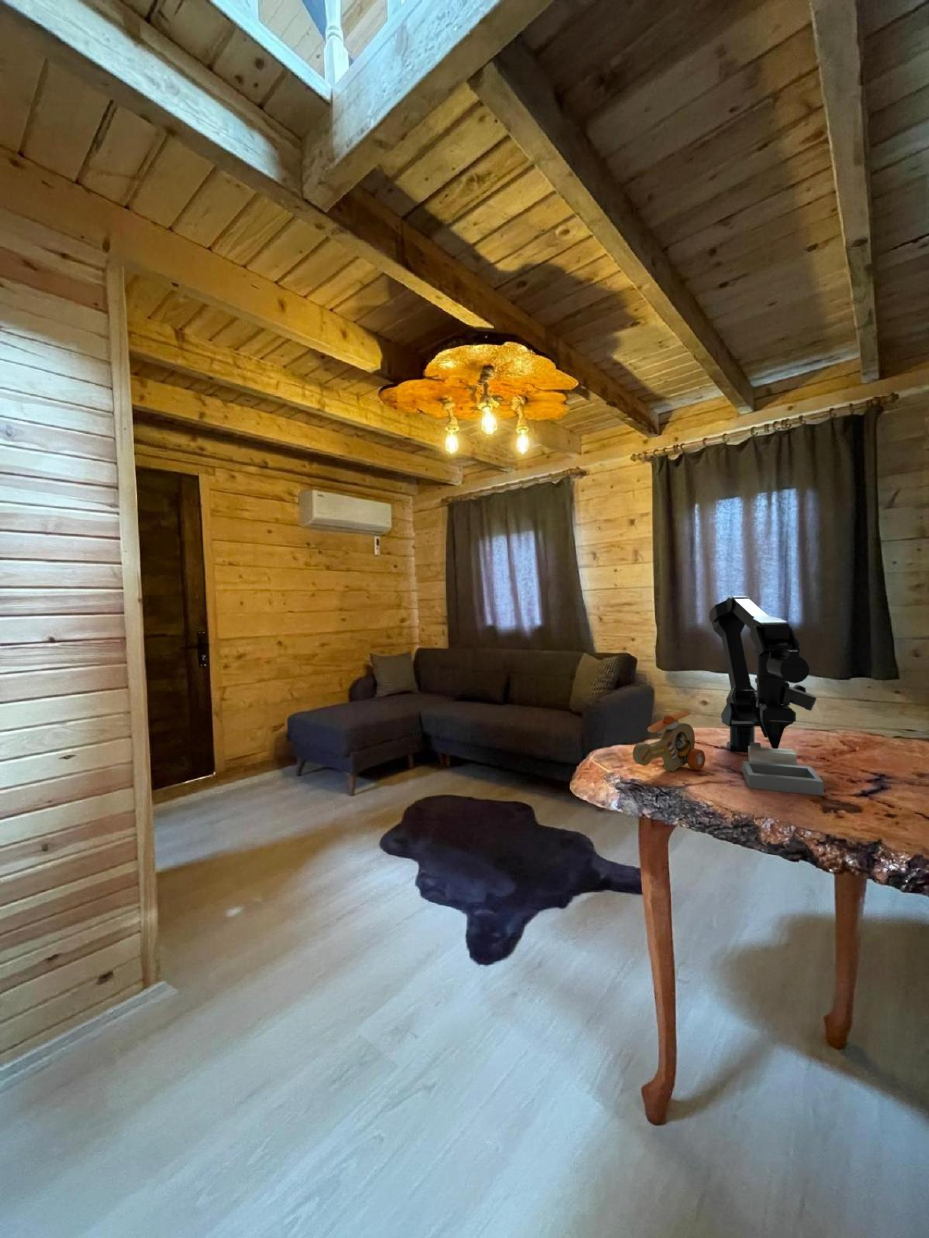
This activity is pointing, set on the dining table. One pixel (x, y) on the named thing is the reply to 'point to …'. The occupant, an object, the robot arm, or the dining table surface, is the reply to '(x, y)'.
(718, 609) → the robot arm
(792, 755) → the white block with tab
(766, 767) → the cradle
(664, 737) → the toy helicopter
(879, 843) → the dining table surface
